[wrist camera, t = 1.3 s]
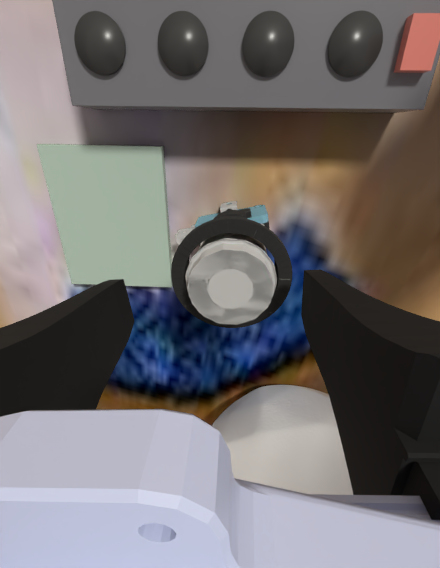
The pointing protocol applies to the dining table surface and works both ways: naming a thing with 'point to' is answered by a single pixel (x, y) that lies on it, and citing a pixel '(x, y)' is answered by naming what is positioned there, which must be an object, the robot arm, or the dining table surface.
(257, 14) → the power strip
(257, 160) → the dining table surface
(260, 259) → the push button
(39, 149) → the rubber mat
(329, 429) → the white rounded upright lump
